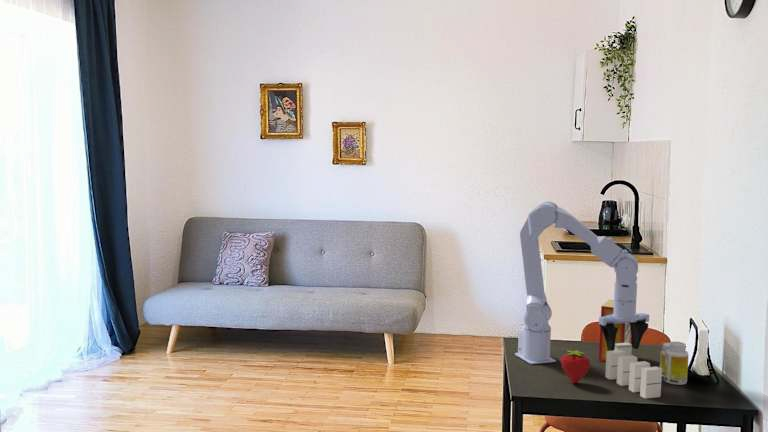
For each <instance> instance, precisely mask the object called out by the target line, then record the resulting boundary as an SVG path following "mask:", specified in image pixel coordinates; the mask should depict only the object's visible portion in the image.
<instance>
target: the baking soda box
mask: <svg viewBox="0 0 768 432" xmlns="http://www.w3.org/2000/svg"><path fill="white" fill-rule="evenodd" d="M600 309H601V311H600V317H603V316H607V315H611V314H613V311H614V299H608V300H607V301H605V303H603V304H602V305H601V308H600ZM614 325H615V327H616V328H618V331H617V334H616V338H615V344H616V343H627V342H628V343H630V344H631V327H630V323H619V324H614ZM598 348H599V349H598V351H599V352H598V362H601V363H602V362H603V363H606V352H607V351H610V350H608V349H607V344H606V340H605V336H604V334H603V331H602V329H601V328H600V329H599V347H598Z"/></svg>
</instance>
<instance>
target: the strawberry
mask: <svg viewBox="0 0 768 432" xmlns="http://www.w3.org/2000/svg"><path fill="white" fill-rule="evenodd" d="M566 352H569V353H564V354H563V356H561V359H560V364H561V368H562V370H563V371H564V373H565V375H566V376H567V377H568V378H569V380H570V381H571V382H572V383H573V384H577V383H579V381H581V380H582V379H583V378H584V377H585V376H586V375H587V373H588V372H589V370H590V367H591V362H590V360H589V358H588V357H587V356H586V354H585V352H582V351H579V350H578V349H577V350H566Z"/></svg>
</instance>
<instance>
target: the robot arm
mask: <svg viewBox="0 0 768 432" xmlns="http://www.w3.org/2000/svg"><path fill="white" fill-rule="evenodd" d="M553 224H554V228H555V229H566V230H567V231H569V232H570V233H572V234H573V235H575V237H577V238H579V239H580V240H581V241H583V242H584V243H586V244H587V245H589V246H590V253H591V254H593V255H594V256H595V257H597V259H599V260H600V261H602V262H603V263H604V264H605V265H607V266H608V267H609V268H613V269H614V272H615V282H614V291H613V294H614V295H613V300H614V311H613V314H611V315H607V316H603V317H601V316H599V317H598V324H599V327H600V328H601V329H602V331H603V334H604V336H605V340H606V344H607V349H608V350H610V351H614V349H615V338H616V334H617V331H618V328H616V327H615V325H614V324H619V323H630V327H631V336H630V344H632V349H635V350H639V347H640V344H641V342H642V339H643V336H644V334H645V333H646V331H647V329H648V328H649V322H650V314H648V313H645V312H643V313H641V312H640V313H637V298H638V297H637V294H638V283H637V281H638V277H637V274H638V272H639V261H638V259H637V258H636V257H635V256H634V254H632V253H628V252H629V251H628V250H627V249H623V248H622V247H620V246H618V244H616V243H615V242H614V239H613V237H611V236H610V237H607V236H605V235H603V236H598V235H597V234H595V233H594V232H593V231H592V230H591V229H590V228H588V227H587V226H586V225H585V224H583V223H582V222H581V221H579V220H578V219H577V218H576V217H575V216H573V215H572V214H571V213H570V212H568V211H567V210H566V209H564V208H563V207H560V206H558V205H557V204H556V203H554V202H552V201H544V202H541V203H540V204H539V205H537V206H535V207H534V208H533V209H532V211H530V212H529V213H528V216H527V218H526V220H525V222H524V224H523V226H522V227H521V228H520V232H519V238H520V247H521V255H522V263H523V264H522V265H523V272H524V282H525V289H526V290H525V291H526V304H525V305H526V307H525V308H526V311H525V314H524V323H525V324H524V325H523V326H522V327H521V328H520V329H519V330H518V331H519V332H518V340H517V341H518V343H517V352H514V355H515V356H516V357H518V358H520V359H521V360H523V361H525V362H527V363H528V364H529V365H538V364H548V363H556V362H557V360H556V359H554V358H553V357H551V339H552V337H551V336H552V334H551V333H552V327H551V325H550V324H549V321H550V320H551V319H552V316H553V315H552V309H551V307H550V305H549V303H548V299H547V296H546V292H545V285H544V278H543V277H544V275H543V268H542V259H541V252H540V243H539V238H540V237H539V236H541V234H543V232H544V231H545V230H546V229H548V228H549V227H551V226H552V225H553Z"/></svg>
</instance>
